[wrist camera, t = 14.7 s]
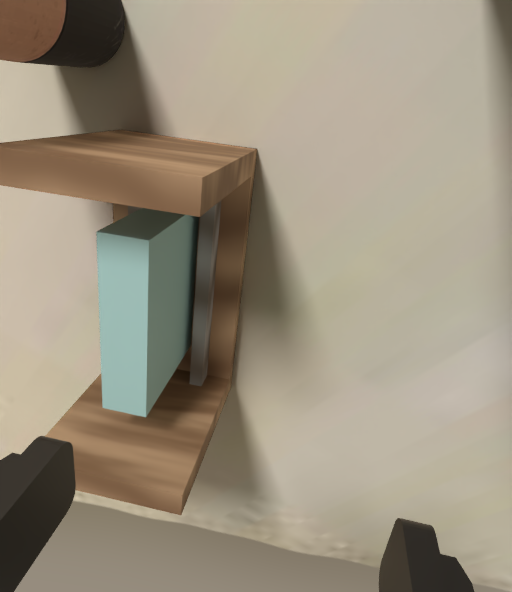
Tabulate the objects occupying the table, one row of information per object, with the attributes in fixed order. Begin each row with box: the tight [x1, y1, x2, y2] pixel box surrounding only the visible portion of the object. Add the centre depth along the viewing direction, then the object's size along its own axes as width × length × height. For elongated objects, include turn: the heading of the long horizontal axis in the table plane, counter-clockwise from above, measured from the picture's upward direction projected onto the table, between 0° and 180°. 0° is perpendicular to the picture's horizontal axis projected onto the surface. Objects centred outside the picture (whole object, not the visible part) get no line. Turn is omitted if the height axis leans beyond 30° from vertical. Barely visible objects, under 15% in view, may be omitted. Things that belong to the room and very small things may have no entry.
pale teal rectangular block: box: [97, 208, 199, 417], centre depth 36 cm, size 14×4×11 cm, turn 173°
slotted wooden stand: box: [0, 130, 257, 515], centre depth 35 cm, size 24×12×16 cm, turn 173°
